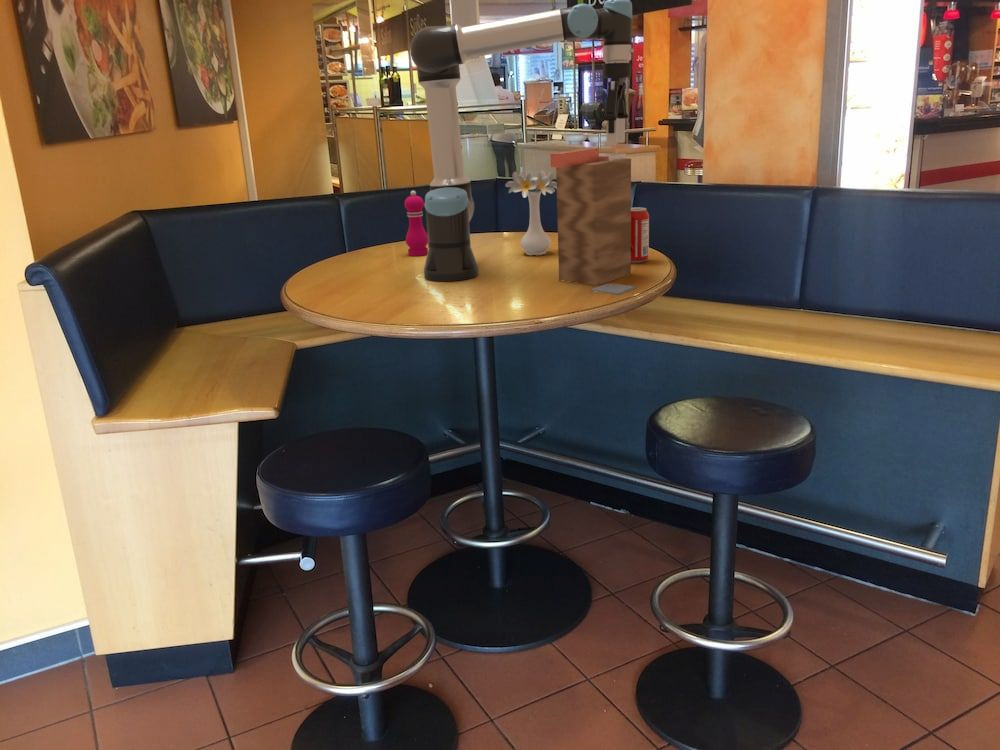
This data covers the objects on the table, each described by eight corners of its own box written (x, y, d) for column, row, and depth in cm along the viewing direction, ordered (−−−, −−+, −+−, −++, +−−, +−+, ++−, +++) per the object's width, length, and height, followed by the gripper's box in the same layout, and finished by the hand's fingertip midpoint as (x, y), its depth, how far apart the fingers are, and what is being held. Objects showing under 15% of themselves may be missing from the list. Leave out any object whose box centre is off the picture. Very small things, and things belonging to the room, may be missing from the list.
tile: (590, 293, 206) (590, 289, 206) (608, 286, 212) (608, 283, 212) (618, 296, 201) (617, 292, 201) (635, 290, 207) (635, 286, 206)
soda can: (648, 264, 233) (648, 210, 228) (619, 264, 234) (619, 210, 230) (648, 258, 240) (649, 206, 235) (621, 259, 242) (621, 207, 237)
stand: (559, 280, 219) (556, 163, 209) (593, 269, 230) (592, 157, 220) (596, 285, 211) (595, 164, 201) (630, 273, 222) (631, 158, 213)
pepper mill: (428, 255, 261) (423, 191, 254) (405, 256, 261) (399, 192, 255) (430, 251, 268) (425, 188, 261) (408, 252, 268) (403, 189, 262)
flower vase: (570, 255, 250) (568, 170, 242) (509, 259, 249) (505, 174, 241) (565, 247, 262) (563, 166, 254) (507, 251, 262) (503, 170, 254)
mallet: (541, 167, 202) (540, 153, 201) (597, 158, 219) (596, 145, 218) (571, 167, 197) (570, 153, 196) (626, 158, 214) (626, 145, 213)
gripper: (623, 60, 211) (622, 147, 218) (637, 62, 233) (636, 141, 240) (594, 62, 213) (593, 147, 220) (611, 63, 236) (610, 141, 243)
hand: (615, 144), depth 230 cm, fingers open, 13 cm apart
